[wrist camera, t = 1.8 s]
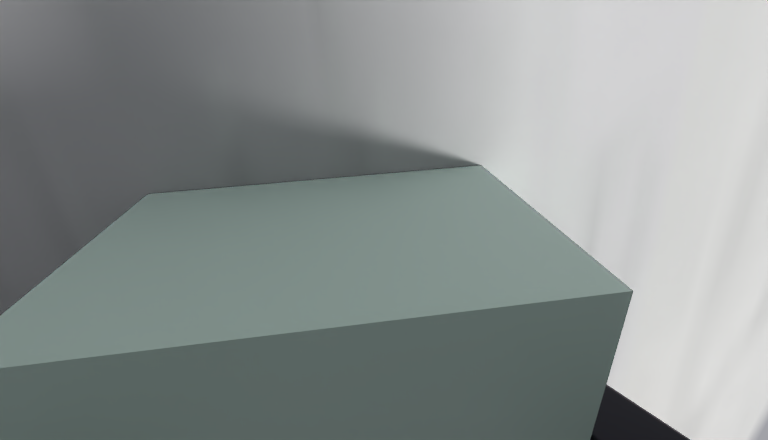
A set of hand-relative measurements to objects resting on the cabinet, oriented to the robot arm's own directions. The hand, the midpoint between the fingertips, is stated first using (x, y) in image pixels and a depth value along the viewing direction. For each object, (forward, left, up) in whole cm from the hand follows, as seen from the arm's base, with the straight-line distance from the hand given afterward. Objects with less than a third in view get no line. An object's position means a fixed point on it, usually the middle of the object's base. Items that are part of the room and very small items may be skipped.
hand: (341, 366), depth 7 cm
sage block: (0, 0, -1) cm, 1 cm away
